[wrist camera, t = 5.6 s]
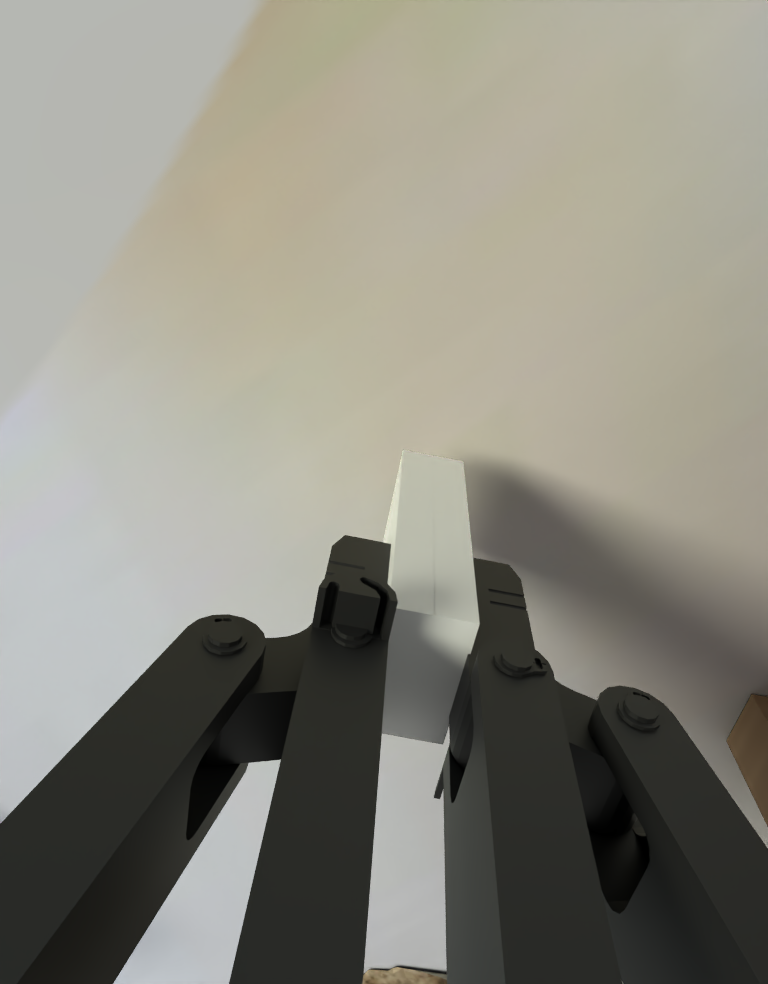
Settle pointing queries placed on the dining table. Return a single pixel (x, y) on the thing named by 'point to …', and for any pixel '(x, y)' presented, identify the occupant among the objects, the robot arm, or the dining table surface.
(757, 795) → the bridge
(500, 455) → the dining table surface
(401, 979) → the radio
